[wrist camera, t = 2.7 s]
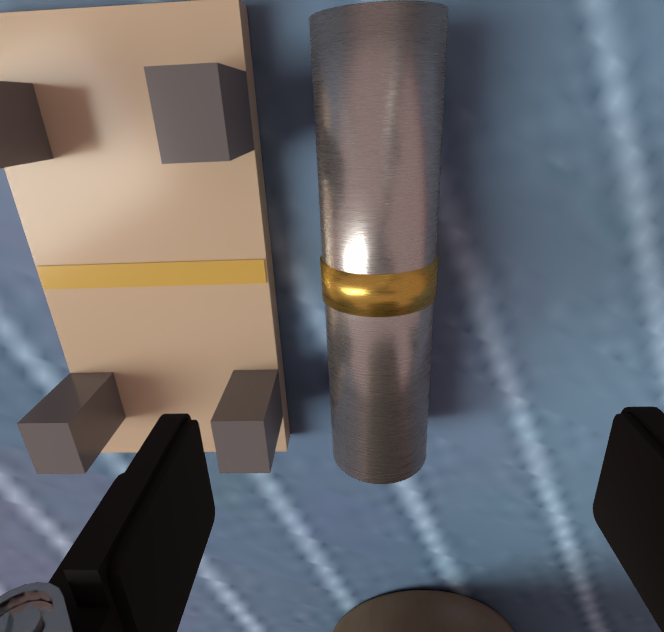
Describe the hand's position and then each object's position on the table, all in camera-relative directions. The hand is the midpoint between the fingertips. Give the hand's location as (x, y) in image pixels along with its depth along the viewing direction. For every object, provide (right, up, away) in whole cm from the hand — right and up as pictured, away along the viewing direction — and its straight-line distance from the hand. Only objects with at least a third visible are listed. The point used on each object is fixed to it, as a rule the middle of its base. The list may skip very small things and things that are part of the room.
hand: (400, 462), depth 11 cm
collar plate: (-10, +6, +13) cm, 18 cm away
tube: (+1, +6, +13) cm, 14 cm away
